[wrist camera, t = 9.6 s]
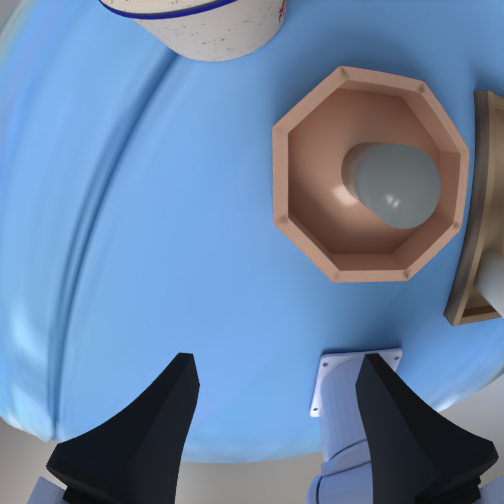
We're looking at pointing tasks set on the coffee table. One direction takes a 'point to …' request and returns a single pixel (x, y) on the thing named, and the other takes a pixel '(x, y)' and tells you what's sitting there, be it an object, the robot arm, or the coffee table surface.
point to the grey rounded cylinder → (392, 182)
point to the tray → (481, 212)
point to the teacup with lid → (206, 24)
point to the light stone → (491, 279)
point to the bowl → (331, 185)
